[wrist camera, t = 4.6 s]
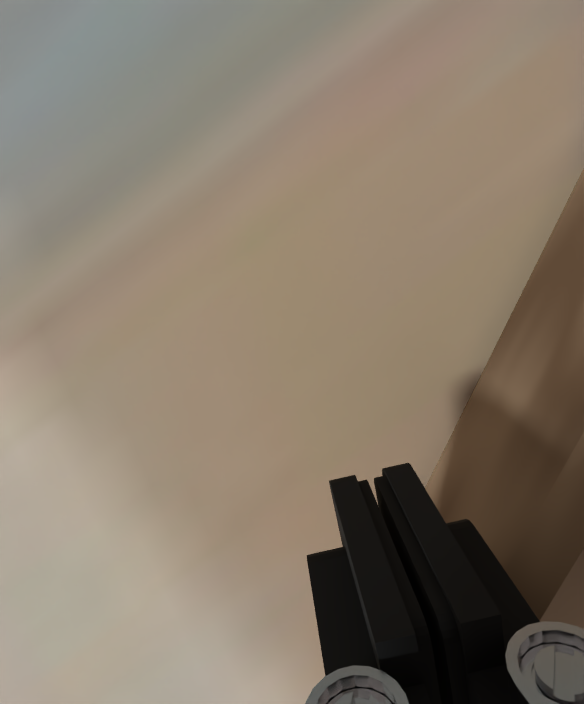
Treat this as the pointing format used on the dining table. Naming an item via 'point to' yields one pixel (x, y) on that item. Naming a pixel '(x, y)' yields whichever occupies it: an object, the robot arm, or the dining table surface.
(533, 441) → the brown wooden plank
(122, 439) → the dining table surface
